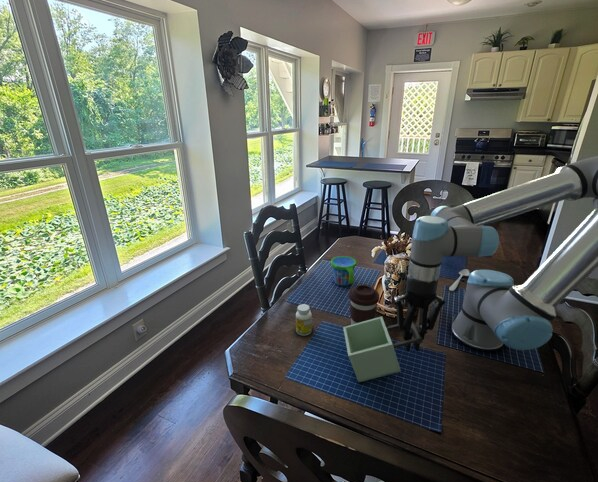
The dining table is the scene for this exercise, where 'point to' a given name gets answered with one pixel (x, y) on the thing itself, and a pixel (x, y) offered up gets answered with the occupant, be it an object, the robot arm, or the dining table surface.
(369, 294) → the coffee cup
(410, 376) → the dining table surface
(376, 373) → the pale green square box
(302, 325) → the supplement bottle
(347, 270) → the snack cup
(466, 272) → the spoon
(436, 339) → the dining table surface
